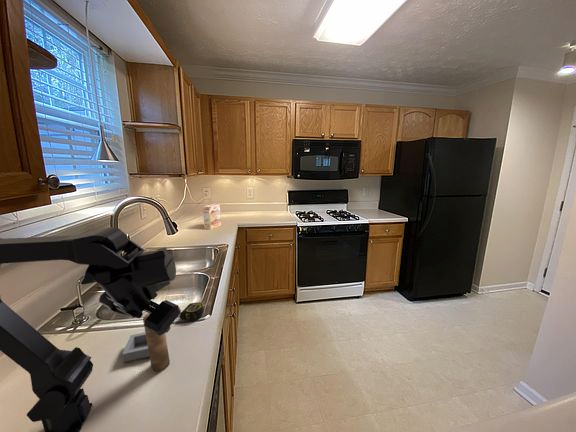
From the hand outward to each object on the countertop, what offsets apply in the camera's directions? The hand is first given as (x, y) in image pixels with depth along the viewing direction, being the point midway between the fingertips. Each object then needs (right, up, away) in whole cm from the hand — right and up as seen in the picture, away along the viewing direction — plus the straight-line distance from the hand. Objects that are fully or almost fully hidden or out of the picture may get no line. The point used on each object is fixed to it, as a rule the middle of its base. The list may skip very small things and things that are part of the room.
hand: (154, 323), depth 59 cm
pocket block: (-10, -13, +13) cm, 21 cm away
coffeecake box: (-32, +16, +152) cm, 157 cm away
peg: (-2, -14, +7) cm, 16 cm away
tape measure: (-2, -10, +28) cm, 30 cm away
